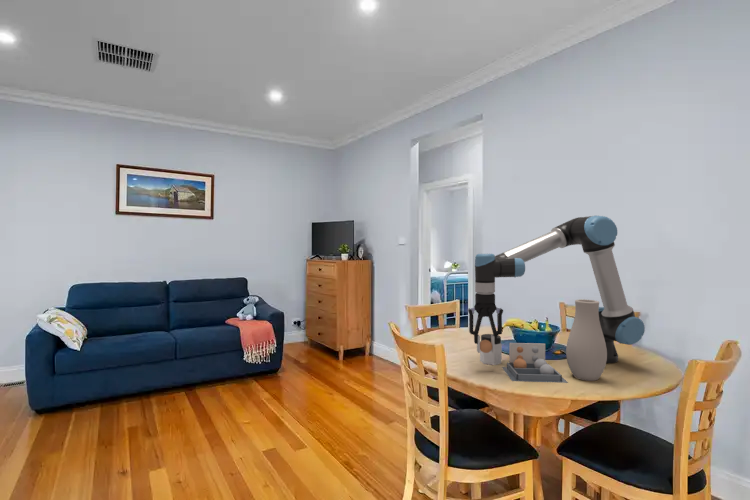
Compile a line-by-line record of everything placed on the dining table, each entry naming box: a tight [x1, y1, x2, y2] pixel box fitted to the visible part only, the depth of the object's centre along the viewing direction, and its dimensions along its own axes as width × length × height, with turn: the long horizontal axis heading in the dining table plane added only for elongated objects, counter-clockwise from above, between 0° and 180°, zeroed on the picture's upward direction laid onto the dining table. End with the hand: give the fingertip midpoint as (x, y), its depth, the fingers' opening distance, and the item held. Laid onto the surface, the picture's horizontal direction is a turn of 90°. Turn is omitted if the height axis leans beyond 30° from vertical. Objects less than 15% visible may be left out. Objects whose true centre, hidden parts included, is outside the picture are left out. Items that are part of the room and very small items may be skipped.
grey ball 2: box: [540, 363, 555, 375], centre depth 156 cm, size 5×5×5 cm
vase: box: [565, 298, 607, 382], centre depth 157 cm, size 14×14×30 cm
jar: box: [479, 333, 503, 366], centre depth 176 cm, size 9×8×12 cm
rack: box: [501, 342, 569, 384], centre depth 160 cm, size 20×17×11 cm
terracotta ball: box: [513, 358, 527, 368], centre depth 164 cm, size 5×5×5 cm
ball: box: [480, 340, 492, 353], centre depth 164 cm, size 5×5×5 cm
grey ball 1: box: [534, 359, 548, 369], centre depth 163 cm, size 5×5×5 cm
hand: (485, 351), depth 164 cm, fingers closed on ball, 5 cm apart
